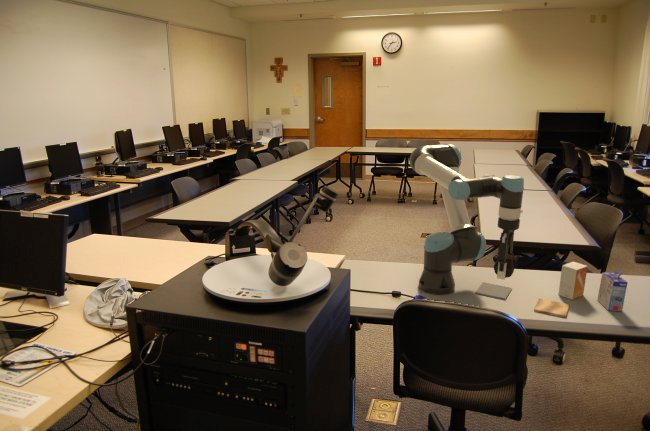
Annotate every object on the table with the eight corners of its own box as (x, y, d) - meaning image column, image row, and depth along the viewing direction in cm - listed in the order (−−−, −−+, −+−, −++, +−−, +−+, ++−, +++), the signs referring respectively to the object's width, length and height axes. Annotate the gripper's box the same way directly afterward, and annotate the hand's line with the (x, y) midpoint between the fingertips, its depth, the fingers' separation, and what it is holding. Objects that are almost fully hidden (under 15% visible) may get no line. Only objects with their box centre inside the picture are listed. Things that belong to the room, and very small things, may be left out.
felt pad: (475, 293, 200) (475, 292, 200) (482, 283, 210) (482, 282, 209) (505, 299, 194) (505, 298, 193) (511, 289, 203) (511, 287, 203)
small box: (572, 300, 192) (576, 270, 189) (557, 294, 197) (561, 265, 194) (583, 295, 197) (588, 265, 193) (569, 290, 202) (572, 261, 198)
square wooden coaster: (534, 310, 184) (534, 309, 184) (538, 300, 193) (538, 298, 193) (565, 317, 178) (565, 315, 178) (569, 306, 187) (569, 304, 187)
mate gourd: (517, 276, 183) (520, 252, 180) (504, 281, 179) (507, 256, 176) (501, 270, 189) (503, 246, 186) (488, 274, 185) (491, 250, 182)
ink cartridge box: (623, 311, 182) (629, 276, 178) (608, 311, 183) (613, 276, 179) (611, 300, 192) (616, 266, 188) (596, 299, 192) (601, 266, 189)
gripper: (514, 226, 167) (507, 286, 174) (525, 212, 183) (518, 268, 190) (492, 223, 171) (486, 282, 178) (504, 209, 187) (499, 264, 194)
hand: (503, 274), depth 184 cm, fingers closed on mate gourd, 7 cm apart
